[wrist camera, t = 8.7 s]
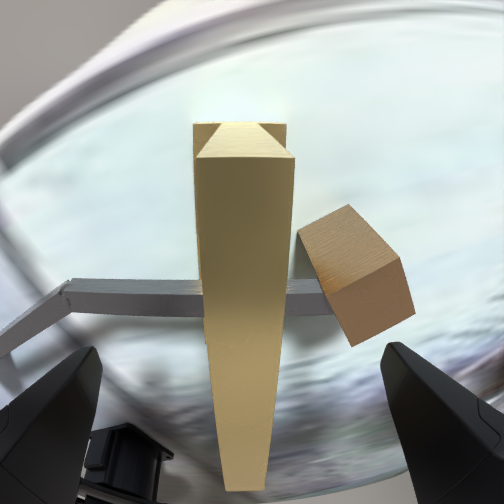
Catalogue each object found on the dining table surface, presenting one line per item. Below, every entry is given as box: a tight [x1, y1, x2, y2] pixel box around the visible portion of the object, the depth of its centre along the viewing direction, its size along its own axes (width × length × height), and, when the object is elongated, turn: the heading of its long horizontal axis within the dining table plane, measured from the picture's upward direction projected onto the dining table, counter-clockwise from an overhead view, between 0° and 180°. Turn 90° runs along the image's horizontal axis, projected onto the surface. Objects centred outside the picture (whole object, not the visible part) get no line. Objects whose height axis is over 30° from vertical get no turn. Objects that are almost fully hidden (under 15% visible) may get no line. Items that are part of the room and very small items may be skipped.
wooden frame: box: [193, 122, 295, 491], centre depth 12 cm, size 12×4×10 cm, turn 179°
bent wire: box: [0, 204, 416, 358], centre depth 15 cm, size 9×30×6 cm, turn 119°
